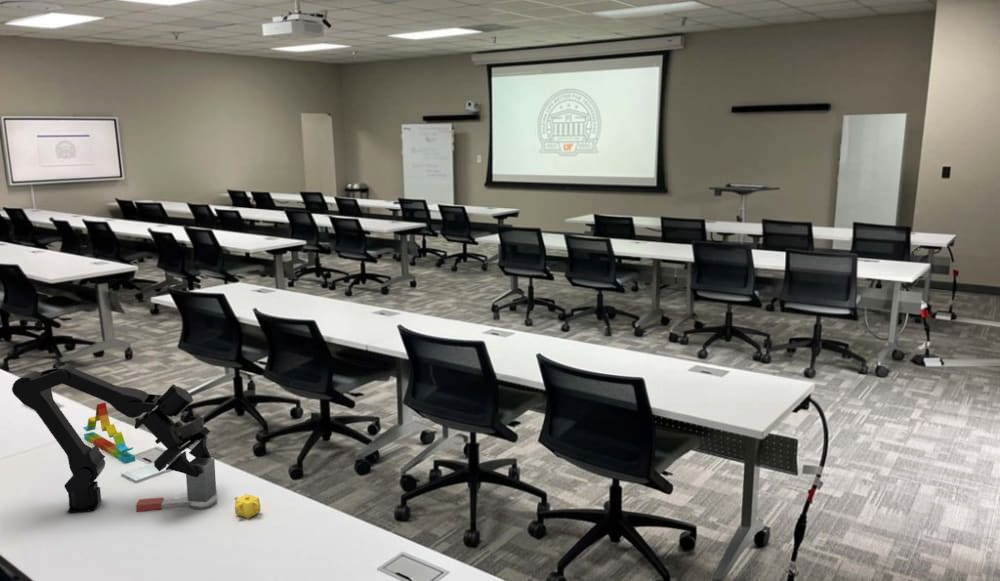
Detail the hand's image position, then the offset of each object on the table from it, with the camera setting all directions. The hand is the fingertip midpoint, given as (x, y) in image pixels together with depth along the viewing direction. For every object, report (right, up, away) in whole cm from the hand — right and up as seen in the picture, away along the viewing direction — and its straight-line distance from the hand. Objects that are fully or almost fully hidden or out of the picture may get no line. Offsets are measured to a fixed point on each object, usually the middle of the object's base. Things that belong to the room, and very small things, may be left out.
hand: (205, 470), depth 193 cm
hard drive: (-25, -7, +21) cm, 33 cm away
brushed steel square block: (-1, -7, +1) cm, 8 cm away
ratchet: (-8, -10, +1) cm, 12 cm away
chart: (-46, -3, +38) cm, 59 cm away
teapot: (+12, -11, -4) cm, 17 cm away
